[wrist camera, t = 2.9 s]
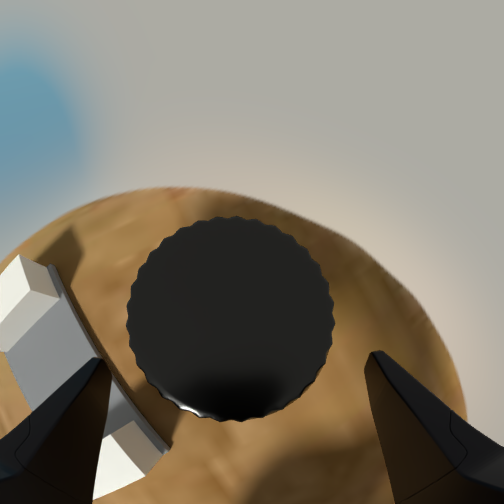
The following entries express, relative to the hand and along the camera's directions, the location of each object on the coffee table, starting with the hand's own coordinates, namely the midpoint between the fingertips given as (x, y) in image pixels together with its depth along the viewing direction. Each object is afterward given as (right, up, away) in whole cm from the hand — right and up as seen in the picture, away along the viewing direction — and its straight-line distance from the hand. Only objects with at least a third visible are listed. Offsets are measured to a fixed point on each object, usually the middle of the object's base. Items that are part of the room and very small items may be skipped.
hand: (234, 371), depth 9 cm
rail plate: (-13, -6, +7) cm, 16 cm away
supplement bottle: (0, -1, +9) cm, 9 cm away
